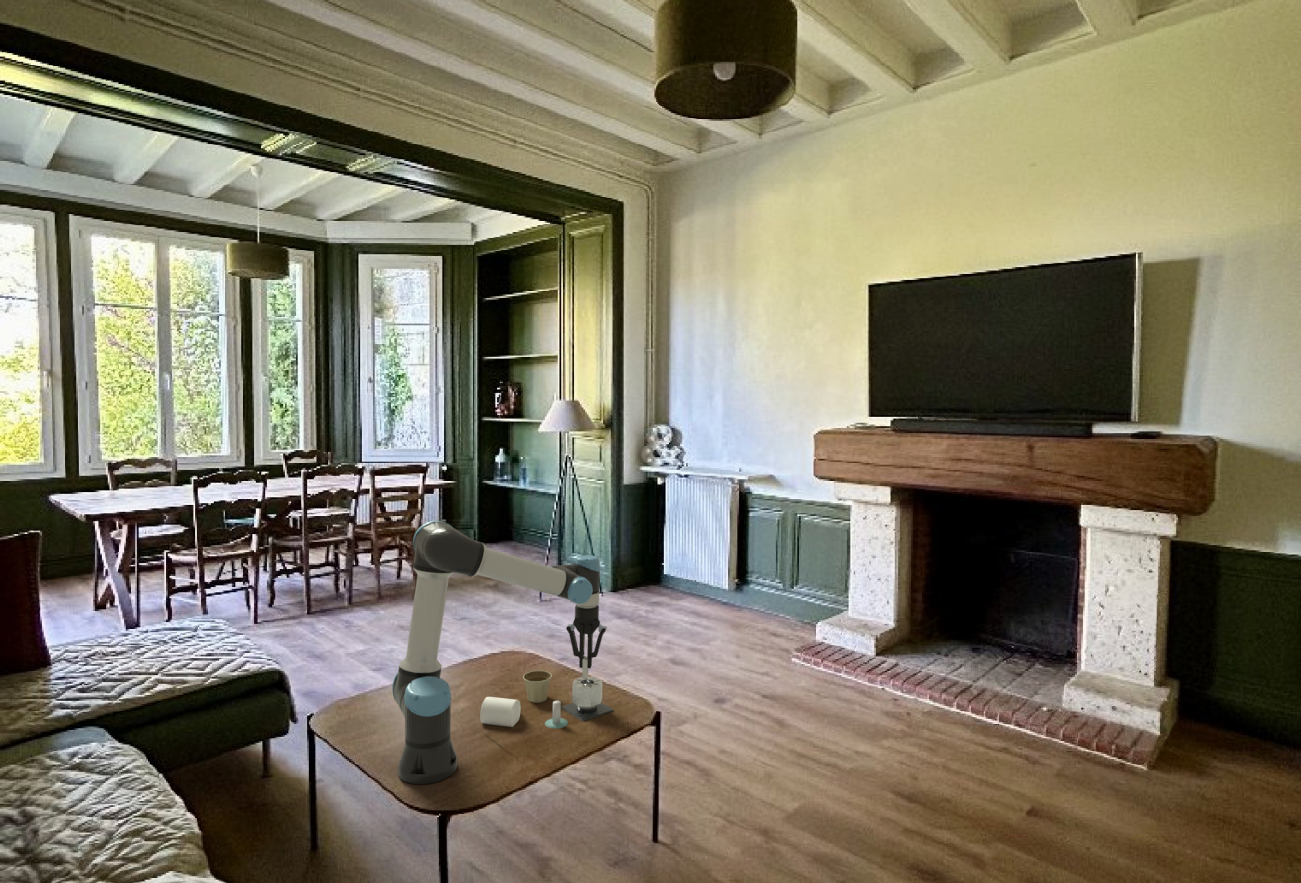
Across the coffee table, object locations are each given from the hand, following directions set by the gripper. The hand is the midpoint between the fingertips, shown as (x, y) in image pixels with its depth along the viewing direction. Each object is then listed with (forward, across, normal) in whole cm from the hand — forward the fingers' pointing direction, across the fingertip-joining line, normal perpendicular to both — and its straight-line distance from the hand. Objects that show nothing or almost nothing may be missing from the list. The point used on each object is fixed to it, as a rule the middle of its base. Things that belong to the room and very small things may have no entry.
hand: (585, 677), depth 231 cm
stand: (+11, +7, +11) cm, 17 cm away
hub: (+11, -1, 0) cm, 11 cm away
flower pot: (+12, +17, -6) cm, 21 cm away
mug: (+12, +24, +10) cm, 28 cm away
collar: (+7, -1, +1) cm, 7 cm away
